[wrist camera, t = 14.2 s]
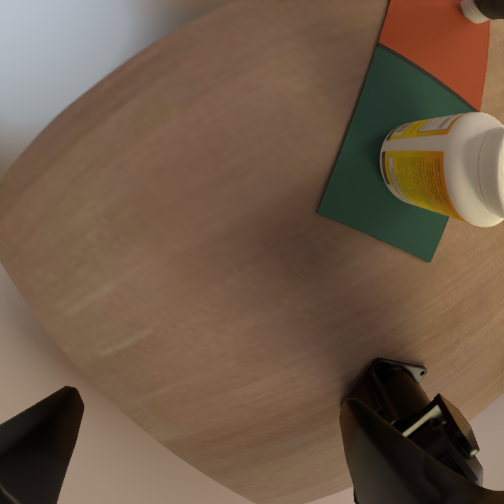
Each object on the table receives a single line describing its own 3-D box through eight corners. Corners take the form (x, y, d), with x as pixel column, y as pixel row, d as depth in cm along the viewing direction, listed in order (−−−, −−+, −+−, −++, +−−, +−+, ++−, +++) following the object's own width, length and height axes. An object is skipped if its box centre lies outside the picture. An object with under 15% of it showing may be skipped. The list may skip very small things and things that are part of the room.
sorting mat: (488, 12, 13) (490, 12, 13) (428, 261, 20) (430, 262, 20) (403, -49, 12) (404, -50, 12) (316, 212, 19) (316, 213, 19)
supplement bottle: (423, 216, 19) (527, 261, 9) (363, 179, 18) (465, 201, 8) (450, 150, 17) (558, 159, 7) (394, 108, 16) (500, 80, 7)
